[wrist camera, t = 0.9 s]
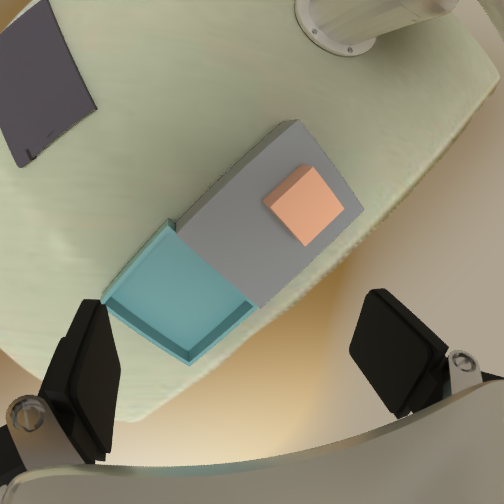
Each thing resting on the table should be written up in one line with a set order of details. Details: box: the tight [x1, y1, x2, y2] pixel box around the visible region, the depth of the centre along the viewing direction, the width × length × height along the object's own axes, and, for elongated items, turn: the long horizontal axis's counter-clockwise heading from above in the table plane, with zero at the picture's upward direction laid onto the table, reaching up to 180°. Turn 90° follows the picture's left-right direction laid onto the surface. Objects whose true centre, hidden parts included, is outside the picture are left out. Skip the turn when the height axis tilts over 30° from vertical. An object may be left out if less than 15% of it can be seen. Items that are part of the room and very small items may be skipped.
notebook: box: [0, 0, 97, 168], centre depth 22 cm, size 13×2×21 cm
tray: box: [100, 219, 258, 366], centre depth 37 cm, size 14×16×3 cm
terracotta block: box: [262, 164, 344, 246], centre depth 31 cm, size 6×6×3 cm
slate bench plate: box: [176, 119, 364, 308], centre depth 34 cm, size 18×14×5 cm
